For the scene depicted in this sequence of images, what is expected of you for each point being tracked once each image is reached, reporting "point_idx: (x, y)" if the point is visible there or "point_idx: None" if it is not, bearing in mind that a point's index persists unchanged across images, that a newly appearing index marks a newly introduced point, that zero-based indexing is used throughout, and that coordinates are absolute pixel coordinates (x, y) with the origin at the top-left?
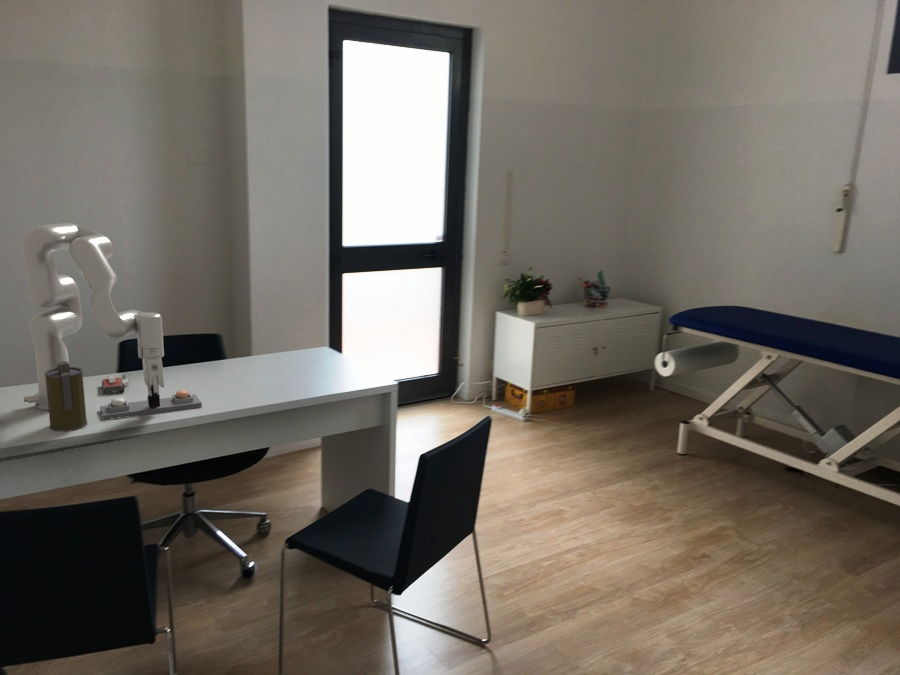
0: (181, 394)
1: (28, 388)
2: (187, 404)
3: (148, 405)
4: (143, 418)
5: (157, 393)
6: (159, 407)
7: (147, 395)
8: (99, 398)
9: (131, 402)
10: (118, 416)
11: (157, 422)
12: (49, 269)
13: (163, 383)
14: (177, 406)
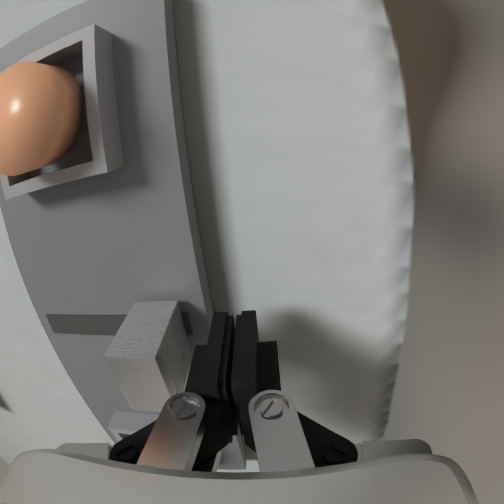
0: (57, 121)
1: (10, 460)
2: (169, 71)
3: (188, 363)
4: (288, 357)
5: (319, 425)
6: (185, 289)
7: (139, 408)
8: (23, 415)
9: (80, 390)
10: (239, 434)
11: (393, 296)
12: None
13: (474, 497)
14: (181, 154)
